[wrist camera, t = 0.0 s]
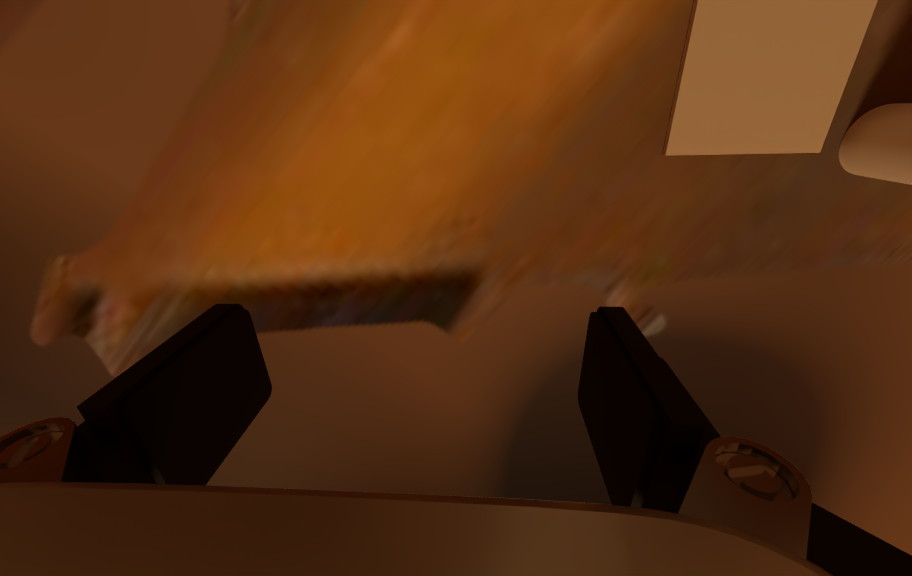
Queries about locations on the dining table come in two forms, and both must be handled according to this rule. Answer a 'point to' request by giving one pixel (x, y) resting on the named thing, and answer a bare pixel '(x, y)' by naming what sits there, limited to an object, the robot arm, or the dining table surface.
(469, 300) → the dining table surface
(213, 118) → the dining table surface
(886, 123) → the cylindrical container
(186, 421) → the robot arm
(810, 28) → the mat
